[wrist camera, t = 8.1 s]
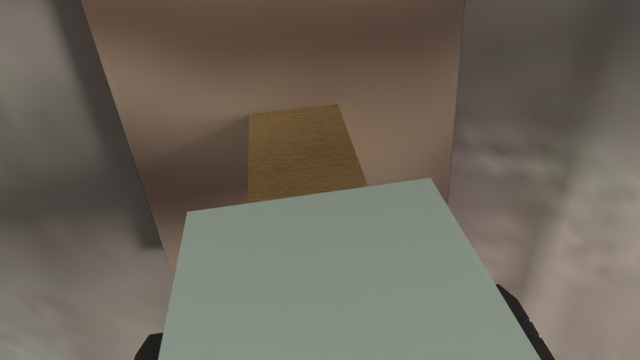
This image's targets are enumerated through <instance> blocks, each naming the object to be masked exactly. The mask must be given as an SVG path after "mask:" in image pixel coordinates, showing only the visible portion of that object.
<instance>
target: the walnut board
mask: <svg viewBox="0 0 640 360" xmlns="http://www.w3.org/2000/svg"><path fill="white" fill-rule="evenodd" d="M81 3H82V6H83V9H84V12H85V15H86V18H87V21H88V24H89V27H90V30H91V33H92V36H93V39H94V42H95V45H96V48H97V51H98V54H99V57H100V60H101V63H102V66H103V69H104V72H105V75H106V78H107V81H108V84H109V87H110V90H111V93H112V96H113V99H114V102H115V105H116V108H117V111H118V114H119V117H120V120H121V123H122V126H123V129H124V132H125V135H126V138H127V141H128V144H129V147H130V150H131V153H132V156H133V159H134V162H135V165H136V168H137V171H138V174H139V177H140V180H141V183H142V186H143V189H144V192H145V194H146V197H147V200H148V203H149V206H150V209H151V212H152V215H153V218H154V221H155V224H156V227H157V230H158V233H159V236H160V239H161V242H162V245H163V248H164V251H165V254H166V257H167V260H168V263H169V266H170V268H175V267H177V261H178V256H179V251H180V246H181V241H182V236H183V231H184V226H185V221H186V216H187V212H190V211H197V210H204V209H211V208H219V207H226V206H233V205H240V204H247V203H248V152H249V115H252V114H260V113H269V112H277V111H285V110H294V109H302V108H310V107H319V106H327V105H336V104H338V106H339V108H340V111H341V114H342V117H343V119H344V122H345V125H346V127H347V130H348V133H349V136H350V138H351V141H352V144H353V146H354V149H355V152H356V155H357V157H358V160H359V163H360V166H361V168H362V171H363V174H364V176H365V179H366V182H367V185H368V186H375V185H382V184H389V183H397V182H404V181H411V180H418V179H425V178H431V179H432V181H433V183H434V184H435V186H436V188H437V189H438V191H439V193H440V194H441V196H442V198H443V199H444V201H445V203H446V204H448V193H449V181H450V169H451V157H452V146H453V134H454V122H455V110H456V99H457V87H458V75H459V63H460V52H461V40H462V28H463V17H464V5H465V0H81Z"/></svg>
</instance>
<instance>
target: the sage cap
mask: <svg viewBox="0 0 640 360" xmlns="http://www.w3.org/2000/svg"><path fill="white" fill-rule="evenodd" d="M158 360H541V359H540V357H539V356H538V354H537V353H536V351H535V349H534V348H533V346H532V344H531V343H530V341H529V339H528V338H527V336H526V334H525V333H524V331H523V329H522V328H521V326H520V325H519V323H518V321H517V320H516V318H515V316H514V315H513V313H512V311H511V310H510V308H509V306H508V305H507V303H506V301H505V300H504V298H503V296H502V295H501V293H500V292H499V290H498V288H497V287H496V285H495V283H494V282H493V280H492V278H491V277H490V275H489V273H488V272H487V270H486V268H485V267H484V265H483V264H482V262H481V260H480V259H479V257H478V255H477V254H476V252H475V250H474V249H473V247H472V245H471V244H470V242H469V240H468V239H467V237H466V235H465V234H464V232H463V231H462V229H461V227H460V226H459V224H458V222H457V221H456V219H455V217H454V216H453V214H452V212H451V211H450V209H449V207H448V206H447V204H446V203H445V201H444V199H443V198H442V196H441V194H440V193H439V191H438V189H437V188H436V186H435V184H434V183H433V181H432V179H431V178H425V179H418V180H411V181H404V182H397V183H389V184H382V185H375V186H368V187H361V188H354V189H347V190H340V191H332V192H325V193H318V194H311V195H304V196H297V197H290V198H283V199H276V200H268V201H261V202H254V203H247V204H240V205H233V206H226V207H219V208H211V209H204V210H197V211H190V212H187V216H186V221H185V226H184V231H183V236H182V241H181V246H180V251H179V256H178V261H177V267H176V272H175V277H174V282H173V287H172V292H171V297H170V302H169V307H168V312H167V317H166V322H165V327H164V332H163V337H162V343H161V348H160V353H159V358H158Z"/></svg>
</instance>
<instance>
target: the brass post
mask: <svg viewBox="0 0 640 360" xmlns="http://www.w3.org/2000/svg"><path fill="white" fill-rule="evenodd" d="M361 187H368V185H367V182H366V179H365V176H364V174H363V171H362V168H361V166H360V163H359V160H358V157H357V155H356V152H355V149H354V146H353V144H352V141H351V138H350V136H349V133H348V130H347V127H346V125H345V122H344V119H343V117H342V114H341V111H340V108H339V106H338V104H336V105H327V106H319V107H310V108H302V109H294V110H285V111H277V112H269V113H260V114H252V115H249V152H248V203H254V202H261V201H268V200H276V199H283V198H290V197H297V196H304V195H311V194H318V193H325V192H332V191H340V190H347V189H354V188H361Z"/></svg>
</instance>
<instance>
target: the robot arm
mask: <svg viewBox="0 0 640 360" xmlns="http://www.w3.org/2000/svg"><path fill="white" fill-rule="evenodd" d="M496 287H497V288H498V290H499V292H500V293H501V295H502V296H503V298H504V300H505V301H506V303H507V305H508V306H509V308H510V310H511V311H512V313H513V315H514V316H515V318H516V320H517V321H518V323H519V325H520V326H521V328H522V329H523V331H524V333H525V334H526V336H527V338H528V339H529V341H530V343H531V344H532V346H533V348H534V349H535V351H536V353H537V354H538V356H539V357H540V359H541V360H555V359H554V357H553V356H552V354H551V353H550V351H549V349H548V348H547V346H546V345H545V343H544V341H543V340H542V338H540V337H539V333H538V332H537V330H536V328H535V327H534V325H533V324H532V322H530V321H529V317H528V316H527V314H526V312H525V311H524V309H523V308H522V306H521V304H520V303H519V301H518V300H517V299H516V298H515V297H514V296H513V295H511V294H510V293H509V292H508V291H506V290H505V289H504V288H503V287H502V286H500V285H499V284H496ZM162 337H163V333H158V334H151V335H149V336H148V337H147V339H146V340H145V342H144V343H143V345H142V346H141V348H140V349H139V351H138V352H137V354H136V355H135V359H134V360H158V358H159V353H160V348H161V343H162Z"/></svg>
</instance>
